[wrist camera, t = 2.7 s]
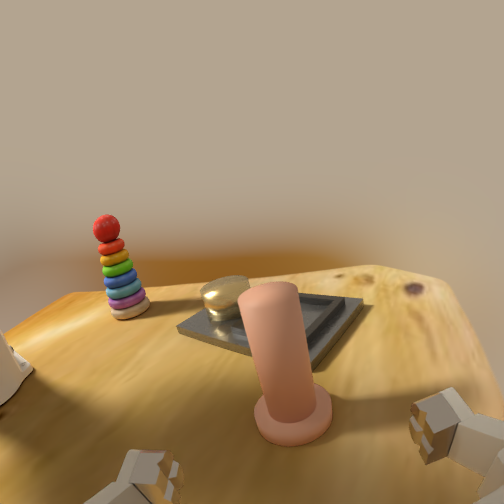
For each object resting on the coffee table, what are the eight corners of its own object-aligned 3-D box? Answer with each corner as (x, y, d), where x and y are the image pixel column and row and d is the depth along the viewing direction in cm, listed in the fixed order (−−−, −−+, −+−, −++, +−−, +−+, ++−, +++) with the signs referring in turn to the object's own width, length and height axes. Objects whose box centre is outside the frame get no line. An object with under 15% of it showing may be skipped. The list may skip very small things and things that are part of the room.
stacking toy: (116, 325, 50) (81, 223, 46) (110, 313, 57) (79, 222, 52) (156, 309, 54) (124, 208, 50) (145, 298, 61) (117, 209, 56)
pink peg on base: (242, 429, 24) (200, 309, 20) (285, 387, 28) (259, 272, 25) (306, 456, 19) (278, 326, 16) (345, 403, 24) (332, 277, 21)
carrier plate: (178, 333, 44) (167, 302, 42) (241, 292, 54) (234, 265, 52) (311, 372, 29) (304, 331, 28) (363, 306, 39) (360, 271, 38)
